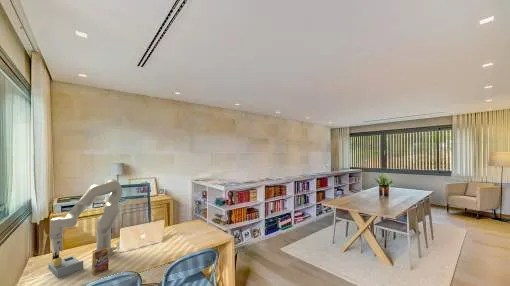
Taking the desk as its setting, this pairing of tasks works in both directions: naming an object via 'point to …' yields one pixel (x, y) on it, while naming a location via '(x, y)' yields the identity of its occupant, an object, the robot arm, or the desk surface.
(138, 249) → the desk surface
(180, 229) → the desk surface
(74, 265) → the board
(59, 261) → the block
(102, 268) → the candy box
